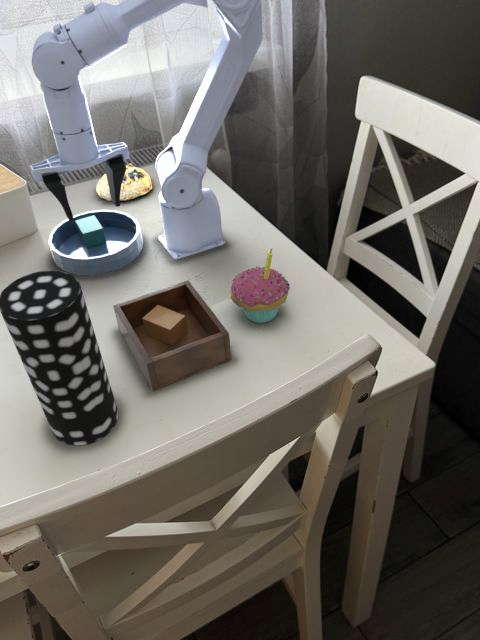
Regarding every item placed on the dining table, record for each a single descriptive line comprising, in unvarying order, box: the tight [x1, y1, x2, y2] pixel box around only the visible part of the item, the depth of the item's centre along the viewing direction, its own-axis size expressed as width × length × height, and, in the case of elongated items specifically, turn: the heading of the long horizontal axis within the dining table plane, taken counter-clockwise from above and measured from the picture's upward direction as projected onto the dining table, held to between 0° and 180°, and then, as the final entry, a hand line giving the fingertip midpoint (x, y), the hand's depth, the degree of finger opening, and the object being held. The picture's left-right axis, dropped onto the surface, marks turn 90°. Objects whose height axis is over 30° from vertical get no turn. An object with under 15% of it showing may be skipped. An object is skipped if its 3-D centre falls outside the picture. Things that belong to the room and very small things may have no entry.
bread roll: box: [95, 163, 153, 202], centre depth 117 cm, size 11×11×5 cm
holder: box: [112, 279, 232, 392], centre depth 83 cm, size 12×14×5 cm
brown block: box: [142, 305, 188, 346], centre depth 85 cm, size 4×5×3 cm
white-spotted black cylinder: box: [0, 270, 119, 446], centre depth 68 cm, size 8×8×20 cm
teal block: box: [75, 215, 106, 249], centre depth 104 cm, size 4×5×3 cm
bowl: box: [47, 209, 144, 276], centre depth 102 cm, size 15×15×4 cm
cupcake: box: [230, 247, 291, 324], centre depth 85 cm, size 9×8×12 cm
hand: (93, 210), depth 95 cm, fingers open, 7 cm apart
